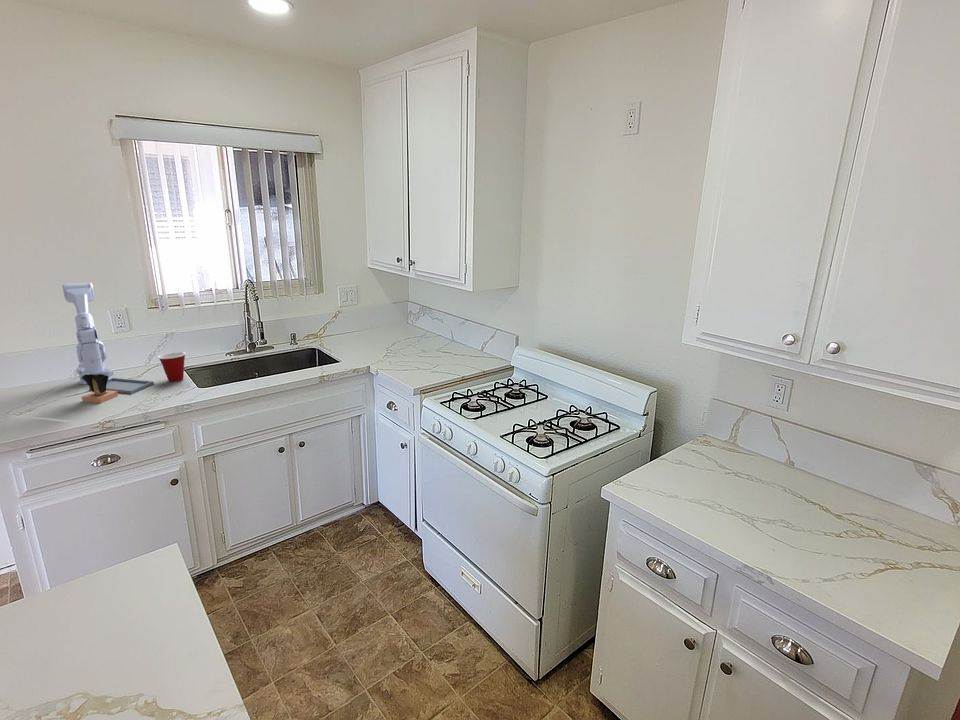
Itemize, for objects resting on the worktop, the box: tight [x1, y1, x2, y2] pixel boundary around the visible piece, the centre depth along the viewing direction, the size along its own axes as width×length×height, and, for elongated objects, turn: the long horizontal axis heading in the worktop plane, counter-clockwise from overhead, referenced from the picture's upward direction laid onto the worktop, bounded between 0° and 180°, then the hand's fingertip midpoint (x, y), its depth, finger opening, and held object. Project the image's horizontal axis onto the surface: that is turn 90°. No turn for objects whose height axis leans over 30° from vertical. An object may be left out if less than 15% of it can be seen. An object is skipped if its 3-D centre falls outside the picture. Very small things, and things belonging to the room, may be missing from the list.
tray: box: [88, 377, 155, 395], centre depth 222 cm, size 20×12×2 cm, turn 81°
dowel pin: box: [92, 379, 104, 396], centre depth 208 cm, size 3×3×8 cm
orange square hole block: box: [81, 390, 119, 404], centre depth 209 cm, size 8×8×2 cm
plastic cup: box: [157, 351, 186, 383], centre depth 231 cm, size 11×11×12 cm
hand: (99, 391), depth 208 cm, fingers closed on dowel pin, 3 cm apart
